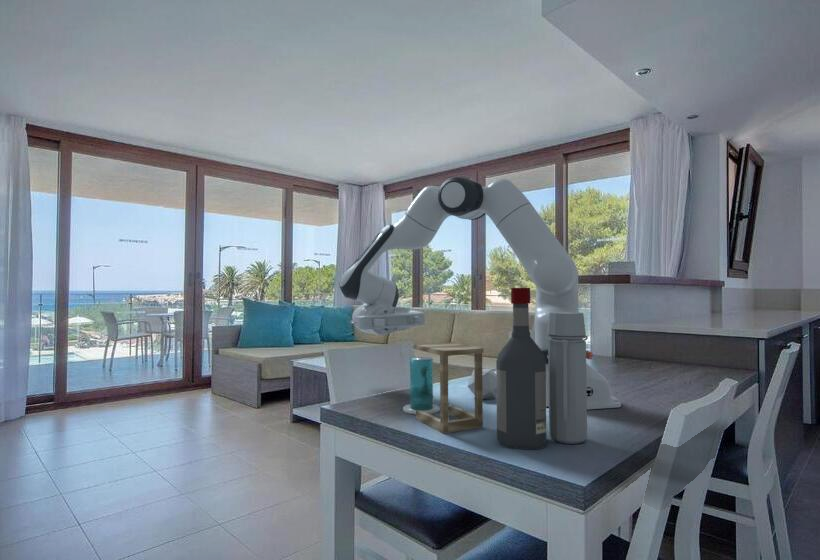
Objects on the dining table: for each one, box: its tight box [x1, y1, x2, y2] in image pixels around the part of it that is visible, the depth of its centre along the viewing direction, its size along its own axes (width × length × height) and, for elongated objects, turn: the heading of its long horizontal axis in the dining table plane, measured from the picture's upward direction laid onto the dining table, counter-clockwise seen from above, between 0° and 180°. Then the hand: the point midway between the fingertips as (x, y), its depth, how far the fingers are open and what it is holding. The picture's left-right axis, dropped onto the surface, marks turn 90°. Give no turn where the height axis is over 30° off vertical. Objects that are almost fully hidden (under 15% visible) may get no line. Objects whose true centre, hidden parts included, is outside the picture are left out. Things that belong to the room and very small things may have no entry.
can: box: [409, 355, 434, 411], centre depth 116 cm, size 6×6×12 cm
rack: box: [414, 341, 484, 434], centre depth 105 cm, size 13×10×17 cm
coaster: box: [402, 403, 440, 416], centre depth 116 cm, size 9×9×1 cm
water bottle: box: [546, 311, 589, 445], centre depth 92 cm, size 9×8×25 cm
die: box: [467, 368, 497, 400], centre depth 129 cm, size 8×9×10 cm
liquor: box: [495, 287, 547, 451], centre depth 92 cm, size 9×9×30 cm
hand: (402, 321), depth 126 cm, fingers open, 8 cm apart
